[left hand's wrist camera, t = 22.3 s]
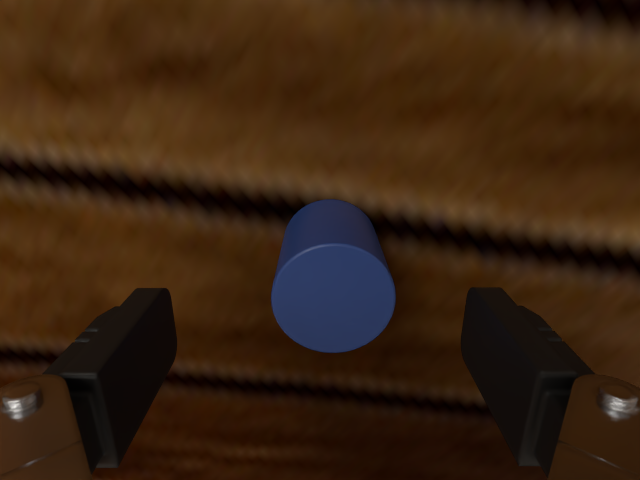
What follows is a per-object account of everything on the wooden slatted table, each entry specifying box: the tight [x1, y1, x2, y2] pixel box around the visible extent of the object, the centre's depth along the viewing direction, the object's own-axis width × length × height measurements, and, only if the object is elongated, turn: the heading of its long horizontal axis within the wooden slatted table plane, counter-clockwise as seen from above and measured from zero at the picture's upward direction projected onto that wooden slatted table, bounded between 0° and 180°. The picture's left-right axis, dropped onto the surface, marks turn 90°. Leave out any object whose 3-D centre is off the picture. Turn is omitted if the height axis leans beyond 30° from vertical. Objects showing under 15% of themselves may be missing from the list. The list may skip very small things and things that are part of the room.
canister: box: [271, 199, 396, 353], centre depth 14 cm, size 4×4×5 cm
